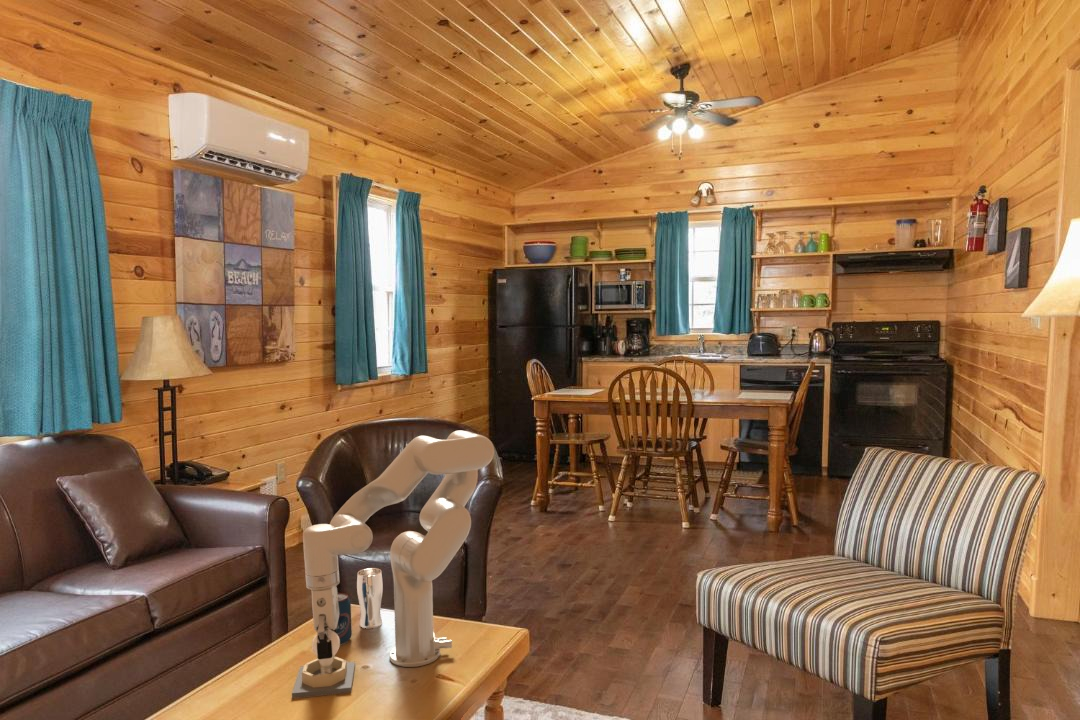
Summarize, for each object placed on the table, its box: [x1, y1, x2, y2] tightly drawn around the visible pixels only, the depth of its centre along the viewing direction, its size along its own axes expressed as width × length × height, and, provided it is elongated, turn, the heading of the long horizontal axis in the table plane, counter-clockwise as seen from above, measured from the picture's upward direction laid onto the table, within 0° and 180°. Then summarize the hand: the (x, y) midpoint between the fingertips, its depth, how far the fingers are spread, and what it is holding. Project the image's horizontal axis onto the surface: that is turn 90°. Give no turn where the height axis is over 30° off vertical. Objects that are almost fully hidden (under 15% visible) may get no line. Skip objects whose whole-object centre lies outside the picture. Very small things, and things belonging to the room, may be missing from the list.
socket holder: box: [291, 655, 356, 699], centre depth 175 cm, size 13×13×4 cm
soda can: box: [336, 592, 353, 646], centre depth 196 cm, size 7×7×12 cm
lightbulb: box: [311, 630, 341, 675], centre depth 175 cm, size 6×6×11 cm
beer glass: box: [356, 567, 384, 630], centre depth 207 cm, size 7×7×15 cm
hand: (327, 648), depth 175 cm, fingers open, 9 cm apart
